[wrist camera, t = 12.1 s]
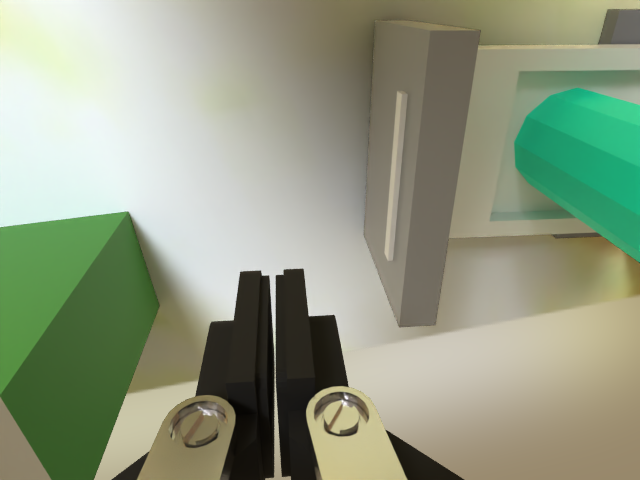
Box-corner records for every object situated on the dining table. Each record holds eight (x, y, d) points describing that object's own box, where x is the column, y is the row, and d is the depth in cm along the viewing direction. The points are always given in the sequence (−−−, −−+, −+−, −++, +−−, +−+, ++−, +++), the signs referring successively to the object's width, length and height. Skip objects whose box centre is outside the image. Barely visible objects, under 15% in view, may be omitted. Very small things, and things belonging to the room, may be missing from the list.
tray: (360, 235, 30) (393, 327, 22) (370, 20, 24) (423, 30, 15) (623, 224, 32) (753, 306, 23) (696, 19, 25) (910, 28, 17)
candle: (597, 187, 28) (795, 301, 17) (504, 190, 27) (649, 310, 17) (628, 86, 25) (889, 148, 14) (525, 88, 24) (716, 153, 14)
